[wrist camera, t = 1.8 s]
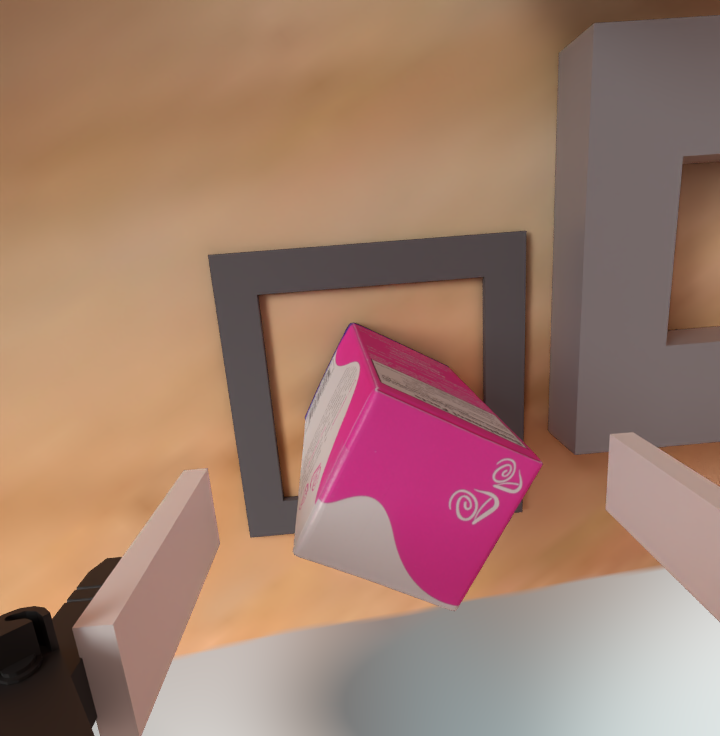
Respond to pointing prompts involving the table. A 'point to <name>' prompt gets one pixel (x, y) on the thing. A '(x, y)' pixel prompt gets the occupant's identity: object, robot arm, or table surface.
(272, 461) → the flat grey square frame
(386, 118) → the table surface
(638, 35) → the socket plate
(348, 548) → the supplement box
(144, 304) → the table surface
